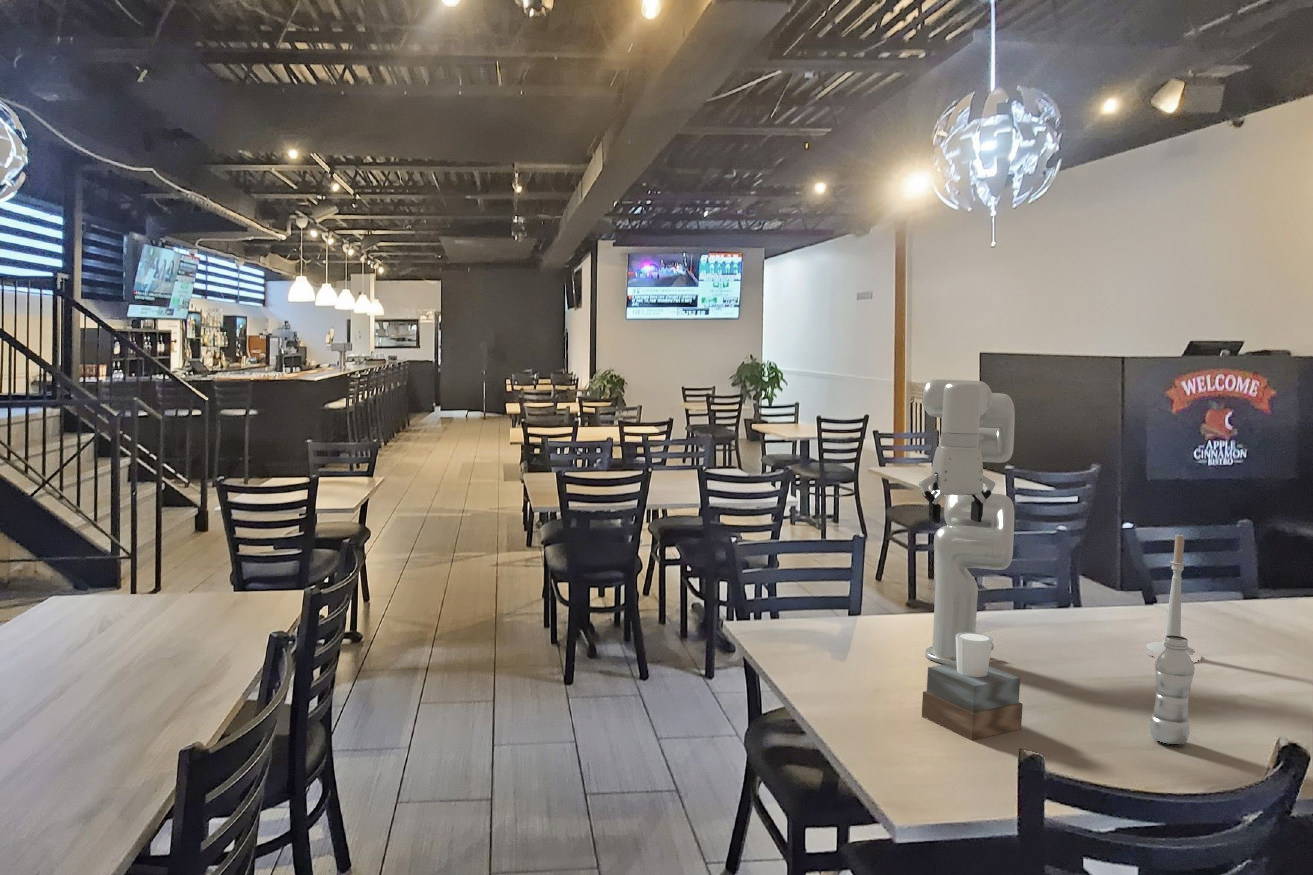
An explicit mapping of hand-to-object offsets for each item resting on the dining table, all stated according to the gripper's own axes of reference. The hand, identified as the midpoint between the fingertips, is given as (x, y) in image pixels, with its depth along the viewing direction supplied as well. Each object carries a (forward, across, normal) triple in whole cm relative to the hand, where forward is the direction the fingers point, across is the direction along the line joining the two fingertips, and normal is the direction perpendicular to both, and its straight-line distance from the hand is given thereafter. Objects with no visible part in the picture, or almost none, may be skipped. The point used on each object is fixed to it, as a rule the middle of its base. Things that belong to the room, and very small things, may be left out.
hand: (955, 521), depth 207 cm
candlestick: (+37, -68, -12) cm, 78 cm away
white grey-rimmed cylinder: (+26, +6, +20) cm, 33 cm away
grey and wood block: (+36, +6, +20) cm, 42 cm away
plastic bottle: (+36, -26, +35) cm, 56 cm away
